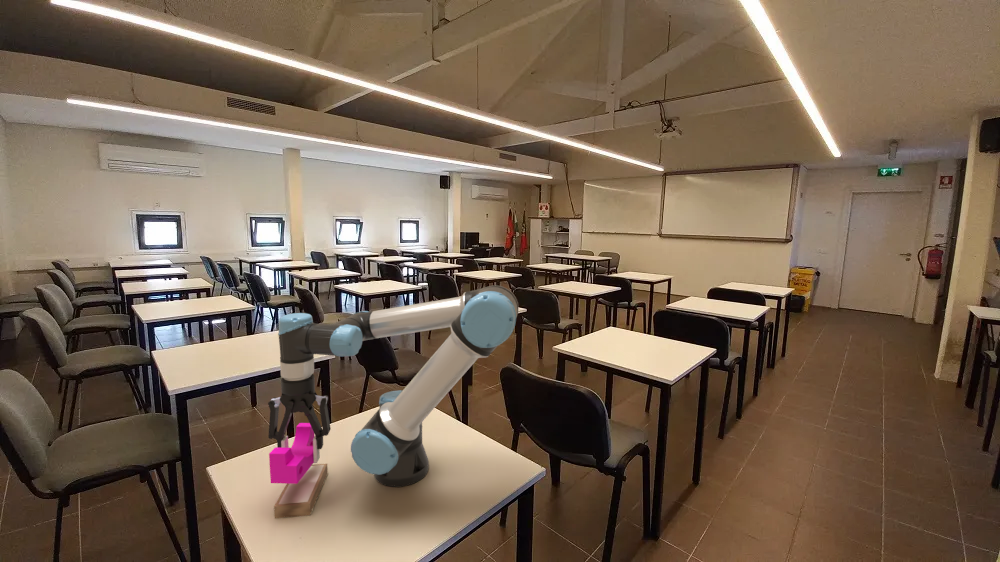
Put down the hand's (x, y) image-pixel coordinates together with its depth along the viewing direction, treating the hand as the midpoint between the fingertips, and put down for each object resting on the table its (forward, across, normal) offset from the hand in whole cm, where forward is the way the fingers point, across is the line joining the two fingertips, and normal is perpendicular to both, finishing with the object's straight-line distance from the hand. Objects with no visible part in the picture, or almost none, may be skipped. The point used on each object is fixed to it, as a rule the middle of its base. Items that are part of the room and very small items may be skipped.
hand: (301, 461), depth 105 cm
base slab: (+9, 0, 0) cm, 9 cm away
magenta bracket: (+1, 0, +1) cm, 1 cm away
